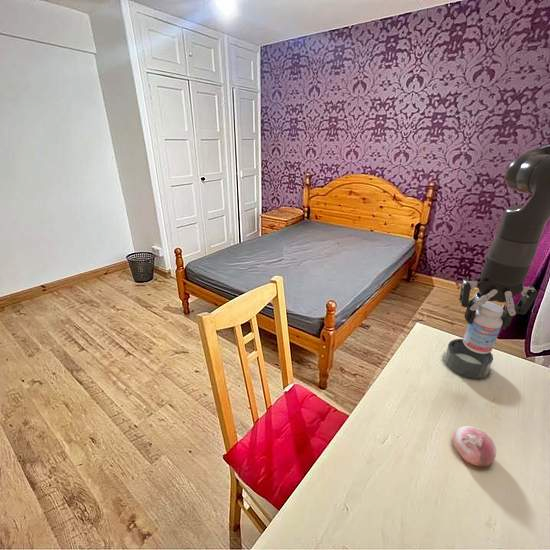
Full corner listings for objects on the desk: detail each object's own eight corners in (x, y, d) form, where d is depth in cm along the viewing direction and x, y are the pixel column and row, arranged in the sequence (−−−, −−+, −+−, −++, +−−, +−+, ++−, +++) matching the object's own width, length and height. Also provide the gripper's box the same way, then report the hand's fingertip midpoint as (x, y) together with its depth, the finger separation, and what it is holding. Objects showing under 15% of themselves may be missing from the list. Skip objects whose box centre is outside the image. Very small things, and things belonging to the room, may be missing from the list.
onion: (442, 449, 69) (450, 428, 66) (461, 431, 73) (469, 410, 69) (480, 480, 63) (490, 458, 60) (498, 459, 67) (509, 437, 63)
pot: (450, 349, 98) (455, 334, 95) (491, 366, 91) (497, 350, 88) (438, 367, 91) (442, 352, 88) (480, 387, 84) (487, 371, 81)
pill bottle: (466, 352, 72) (480, 312, 66) (459, 336, 77) (471, 298, 72) (495, 356, 70) (512, 316, 65) (486, 340, 75) (501, 301, 70)
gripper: (542, 254, 64) (514, 319, 72) (465, 247, 68) (447, 310, 76) (560, 269, 58) (528, 339, 65) (474, 261, 61) (453, 328, 69)
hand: (485, 323), depth 70 cm, fingers closed on pill bottle, 6 cm apart
